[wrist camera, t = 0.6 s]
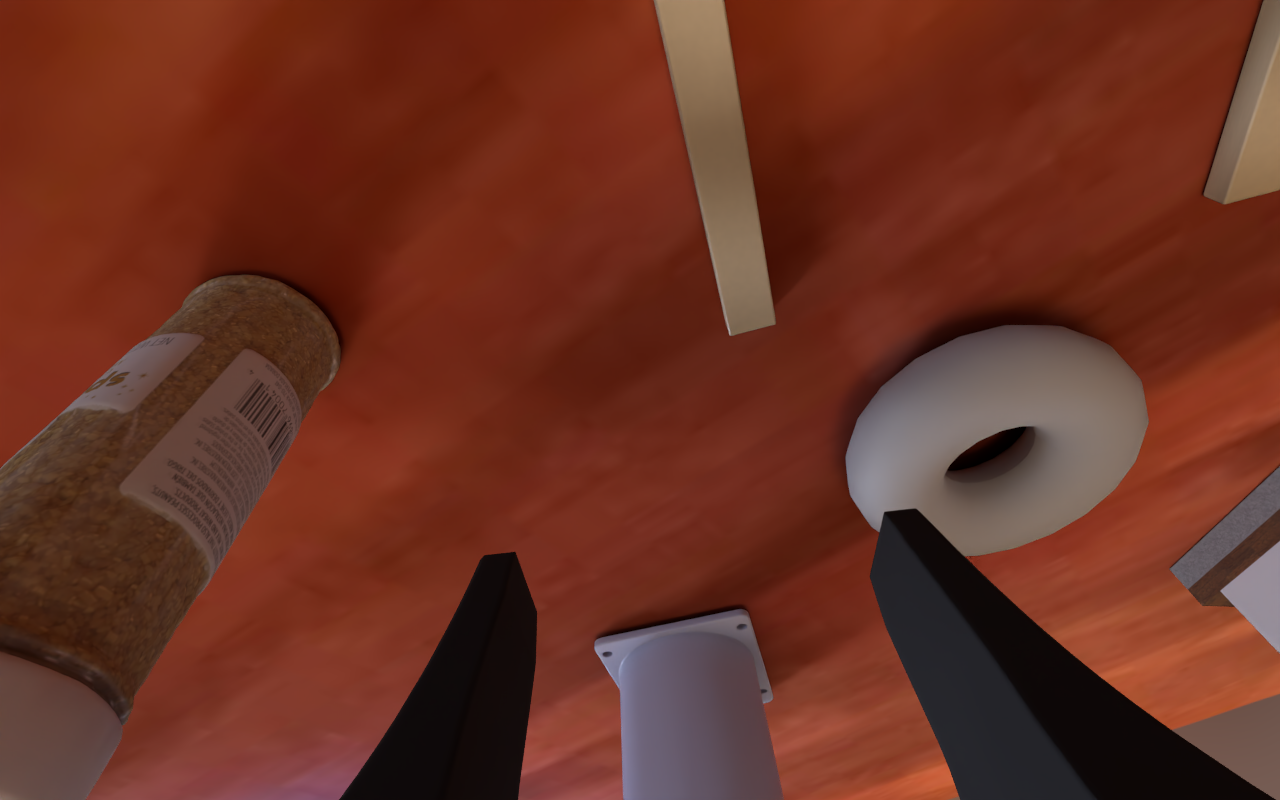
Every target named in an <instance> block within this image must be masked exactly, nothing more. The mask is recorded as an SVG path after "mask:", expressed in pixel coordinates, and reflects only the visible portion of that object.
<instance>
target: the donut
mask: <svg viewBox="0 0 1280 800" xmlns="http://www.w3.org/2000/svg"><path fill="white" fill-rule="evenodd" d="M1148 423H1149V420H1148V414H1147V408H1146V402H1145V396H1144V391H1143V386H1142V381H1141V379H1140V378H1139V377H1138V376H1137V374H1136V373H1135V372H1134V371H1133V369H1132V368H1131V367H1130V366H1129V365H1128V364H1127V363H1126V362H1125V361H1124V360H1123V359H1122V358H1121V357H1120V355H1119V354H1118V353H1117V352H1116V351H1115V350H1114V349H1113V348H1112V347H1111V346H1110V345H1108V344H1106V343H1104V342H1102V341H1100V340H1098V339H1096V338H1093V337H1090V336H1087V335H1085V334H1082V333H1079V332H1076V331H1073V330H1071V329H1068V328H1065V327H1062V326H1052V325H1003V326H999V327H995V328H992V329H988V330H984V331H980V332H976V333H972V334H968V335H964V336H960V337H958V338H956V339H954V340H952V341H950V342H948V343H946V344H944V345H942V346H940V347H938V348H936V349H934V350H932V351H930V352H928V353H926V354H924V355H922V356H920V357H918V358H916V359H915V360H913V361H912V362H911V363H910V364H909V365H907V366H906V367H905V368H904V369H902V370H901V371H900V372H899V373H898V374H896V375H895V376H894V377H893V378H891V379H890V380H889V381H888V382H887V383H885V384H884V385H883V386H882V387H881V388H880V389H879V390H878V392H877V393H876V394H875V396H874V397H873V398H872V400H871V401H870V402H869V404H868V405H867V407H866V408H865V409H864V411H863V412H862V413H861V415H860V416H859V417H858V419H857V422H856V425H855V428H854V431H853V434H852V437H851V440H850V443H849V446H848V449H847V453H846V457H845V459H846V469H847V479H848V487H849V492H850V496H851V498H852V499H853V501H854V502H855V504H856V505H857V507H858V508H859V510H860V511H861V513H862V514H863V516H864V517H865V519H866V520H867V521H868V523H869V524H870V526H871V527H872V528H874V529H875V530H877V531H878V532H880V528H881V523H882V519H883V514H884V512H886V511H895V510H904V509H913V508H916V509H917V510H919V511H920V512H921V513H922V514H923V515H924V516H925V517H926V518H927V519H928V520H929V521H930V522H931V523H932V524H933V525H934V526H935V527H936V528H937V529H938V530H939V531H940V532H941V533H942V534H943V535H944V536H945V537H946V539H947V540H948V541H949V542H950V543H951V544H952V545H953V546H954V547H955V548H956V549H957V550H958V551H959V552H960V553H961V554H962V555H964V556H980V555H985V554H989V553H994V552H999V551H1004V550H1009V549H1013V548H1017V547H1019V546H1022V545H1024V544H1027V543H1030V542H1032V541H1035V540H1037V539H1040V538H1043V537H1045V536H1048V535H1050V534H1053V533H1054V532H1056V531H1058V530H1059V529H1061V528H1063V527H1065V526H1066V525H1068V524H1070V523H1071V522H1073V521H1075V520H1077V519H1078V518H1080V517H1082V516H1083V515H1085V514H1087V513H1088V512H1089V511H1090V510H1091V509H1092V508H1094V507H1095V506H1096V505H1097V504H1098V503H1099V502H1101V501H1102V500H1103V499H1104V498H1105V497H1107V496H1108V495H1109V494H1110V493H1111V492H1112V491H1114V490H1115V488H1116V487H1117V486H1118V484H1119V483H1120V482H1121V480H1122V479H1123V478H1124V476H1125V475H1126V474H1127V472H1128V471H1129V470H1130V468H1131V467H1132V466H1133V464H1134V463H1135V462H1136V459H1137V456H1138V454H1139V451H1140V448H1141V444H1142V441H1143V438H1144V435H1145V432H1146V429H1147V426H1148ZM1020 426H1027V428H1026V429H1025V431H1024V433H1023V434H1022V435H1021V436H1020V437H1019V438H1018V439H1017V440H1016V441H1015V443H1014V444H1013V445H1012V446H1011V447H1009V448H1008V449H1006V450H1005V451H1004V452H1002V453H1001V454H999V455H998V456H996V457H995V458H993V459H991V460H988V461H986V462H984V463H981V464H979V465H977V466H974V467H970V468H965V469H961V470H957V471H947V469H948V467H949V466H950V465H951V463H952V462H953V461H954V460H955V459H956V458H957V457H958V456H959V455H960V454H961V453H963V452H964V451H966V450H967V449H968V448H970V447H971V446H973V445H974V444H976V443H977V442H978V441H980V440H983V439H985V438H987V437H989V436H992V435H994V434H996V433H998V432H1000V431H1003V430H1008V429H1012V428H1016V427H1020Z"/></svg>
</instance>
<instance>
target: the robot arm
mask: <svg viewBox="0 0 1280 800" xmlns="http://www.w3.org/2000/svg"><path fill="white" fill-rule="evenodd" d="M870 579H871V582H872V585H873V588H874V592H875V595H876V598H877V601H878V604H879V607H880V610H881V613H882V616H883V619H884V622H885V625H886V628H887V630H888V633H889V635H890V637H891V639H892V642H893V644H894V646H895V648H896V651H897V653H898V655H899V657H900V659H901V662H902V664H903V666H904V668H905V670H906V673H907V675H908V677H909V679H910V681H911V683H912V686H913V688H914V690H915V692H916V694H917V697H918V699H919V701H920V703H921V705H922V707H923V710H924V712H925V714H926V716H927V718H928V721H929V723H930V725H931V727H932V729H933V731H934V734H935V736H936V738H937V740H938V742H939V745H940V747H941V750H942V752H943V754H944V757H945V759H946V762H947V764H948V767H949V769H950V772H951V775H952V777H953V780H954V783H955V786H956V789H957V791H958V794H959V797H960V800H1276V799H1274V798H1272V797H1271V796H1269V795H1268V794H1266V793H1264V792H1263V791H1261V790H1260V789H1258V788H1256V787H1255V786H1253V785H1252V784H1250V783H1249V782H1247V781H1246V780H1244V779H1243V778H1241V777H1240V776H1238V775H1237V774H1235V773H1234V772H1232V771H1231V770H1229V769H1228V768H1226V767H1225V766H1223V765H1222V764H1220V763H1219V762H1218V761H1216V760H1215V759H1213V758H1212V757H1210V756H1209V755H1207V754H1206V753H1204V752H1203V751H1201V750H1200V749H1198V748H1197V747H1195V746H1194V745H1192V744H1191V743H1189V742H1188V741H1186V740H1185V739H1183V738H1182V737H1180V736H1179V735H1178V734H1176V733H1175V732H1173V731H1172V730H1170V729H1169V728H1168V727H1166V726H1165V725H1163V724H1162V723H1161V722H1159V721H1158V720H1157V719H1155V718H1154V717H1152V716H1151V715H1150V714H1148V713H1147V712H1146V711H1144V710H1143V709H1142V708H1140V707H1139V706H1137V705H1136V704H1135V703H1133V702H1132V701H1131V700H1129V699H1128V698H1127V697H1125V696H1124V695H1123V694H1122V693H1120V692H1119V691H1118V690H1116V689H1115V688H1114V687H1112V686H1111V685H1110V684H1108V683H1107V682H1106V681H1105V680H1103V679H1102V678H1101V677H1099V676H1098V675H1097V674H1096V673H1094V672H1093V671H1092V670H1091V669H1089V668H1088V667H1087V666H1086V665H1084V664H1083V663H1082V662H1081V661H1080V660H1078V659H1077V658H1076V657H1075V656H1073V655H1072V654H1071V653H1070V652H1069V651H1067V650H1066V649H1065V648H1064V647H1063V646H1062V645H1060V644H1059V643H1058V642H1057V641H1056V640H1055V639H1053V638H1052V637H1051V636H1050V635H1049V634H1048V633H1046V632H1045V631H1044V630H1043V629H1042V628H1041V627H1039V626H1038V625H1037V624H1036V623H1035V622H1034V621H1033V620H1032V619H1030V618H1029V617H1028V616H1027V615H1026V614H1025V613H1024V612H1023V611H1021V610H1020V609H1019V608H1018V607H1017V606H1016V605H1015V604H1014V603H1013V602H1012V601H1011V600H1010V599H1009V598H1007V597H1006V596H1005V595H1004V594H1003V593H1002V592H1001V591H1000V590H999V589H998V588H997V587H996V586H995V585H993V584H992V583H991V582H990V581H989V580H988V579H987V578H986V577H985V576H984V575H983V574H982V573H981V572H980V571H979V570H978V569H977V568H976V567H975V566H974V565H973V564H972V563H971V562H970V561H969V560H968V559H967V558H966V557H965V556H964V555H962V554H961V553H960V552H959V551H958V550H957V549H956V548H955V547H954V546H953V545H952V544H951V543H950V542H949V541H948V540H947V539H946V537H945V536H944V535H943V534H942V533H941V532H940V531H939V530H938V529H937V528H936V527H935V526H934V525H933V524H932V523H931V522H930V521H929V520H928V519H927V518H926V517H925V516H924V515H923V514H922V513H921V512H920V511H919V510H917V509H916V508H913V509H904V510H895V511H886V512H884V514H883V519H882V523H881V528H880V532H879V537H878V541H877V546H876V550H875V555H874V559H873V564H872V568H871V573H870ZM536 636H537V611H536V608H535V605H534V602H533V600H532V597H531V594H530V591H529V589H528V586H527V583H526V580H525V577H524V575H523V572H522V569H521V566H520V564H519V561H518V558H517V555H516V552H510V553H501V554H492V555H484V557H483V558H482V559H481V560H480V562H479V564H478V566H477V568H476V571H475V573H474V575H473V577H472V579H471V581H470V584H469V586H468V588H467V590H466V592H465V594H464V596H463V598H462V600H461V602H460V604H459V606H458V608H457V610H456V612H455V614H454V616H453V618H452V620H451V622H450V624H449V626H448V628H447V630H446V631H445V633H444V635H443V637H442V639H441V641H440V643H439V644H438V646H437V648H436V650H435V652H434V654H433V655H432V657H431V659H430V661H429V663H428V665H427V666H426V668H425V670H424V672H423V673H422V675H421V677H420V678H419V680H418V682H417V683H416V685H415V687H414V688H413V690H412V692H411V693H410V695H409V697H408V698H407V700H406V702H405V703H404V705H403V707H402V708H401V710H400V712H399V713H398V715H397V716H396V718H395V720H394V721H393V723H392V724H391V726H390V727H389V729H388V730H387V732H386V734H385V735H384V737H383V738H382V740H381V741H380V743H379V744H378V746H377V747H376V749H375V750H374V752H373V753H372V754H371V756H370V757H369V759H368V760H367V762H366V763H365V765H364V766H363V767H362V769H361V770H360V772H359V773H358V775H357V776H356V777H355V779H354V780H353V782H352V783H351V784H350V786H349V787H348V788H347V790H346V791H345V792H344V794H343V795H342V797H341V798H340V799H339V800H518V794H519V784H520V777H521V770H522V762H523V755H524V748H525V740H526V733H527V726H528V718H529V711H530V704H531V696H532V688H533V681H534V673H535V665H536ZM595 651H596V653H597V654H598V656H599V657H600V659H601V661H602V662H603V664H604V665H605V667H606V669H607V670H608V672H609V673H610V675H611V676H612V678H613V680H614V681H615V683H616V684H617V686H618V687H619V689H620V701H621V735H622V770H623V800H784V797H783V793H782V788H781V783H780V779H779V774H778V770H777V765H776V760H775V756H774V751H773V746H772V742H771V737H770V732H769V728H768V723H767V719H766V714H765V709H764V705H763V703H767V702H770V701H772V699H773V693H772V689H771V686H770V683H769V679H768V676H767V673H766V669H765V666H764V663H763V659H762V656H761V653H760V649H759V646H758V643H757V639H756V636H755V633H754V629H753V626H752V623H751V619H750V616H749V613H748V612H747V611H746V610H744V609H736V610H732V611H727V612H722V613H717V614H712V615H708V616H703V617H698V618H693V619H688V620H683V621H679V622H674V623H669V624H664V625H659V626H654V627H650V628H645V629H640V630H635V631H630V632H626V633H621V634H616V635H611V636H606V637H601V638H599V639H597V640H596V641H595Z"/></svg>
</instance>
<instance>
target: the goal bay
mask: <svg viewBox="0 0 1280 800" xmlns="http://www.w3.org/2000/svg"><path fill="white" fill-rule="evenodd" d="M654 3H655V8H656V12H657V17H658V21H659V26H660V30H661V35H662V39H663V44H664V48H665V53H666V57H667V62H668V66H669V71H670V75H671V80H672V84H673V89H674V93H675V98H676V102H677V107H678V111H679V116H680V120H681V125H682V129H683V134H684V138H685V143H686V147H687V152H688V156H689V161H690V165H691V170H692V174H693V178H694V183H695V187H696V192H697V196H698V201H699V205H700V210H701V214H702V219H703V223H704V228H705V232H706V237H707V241H708V246H709V250H710V255H711V259H712V264H713V268H714V273H715V277H716V282H717V286H718V291H719V295H720V300H721V304H722V309H723V313H724V318H725V322H726V326H727V329H728V332H729V335H730V336H733V335H737V334H740V333H744V332H748V331H752V330H755V329H759V328H763V327H767V326H770V325H774V324H776V318H775V312H774V306H773V300H772V294H771V287H770V281H769V275H768V269H767V263H766V256H765V250H764V244H763V238H762V232H761V225H760V219H759V213H758V207H757V201H756V194H755V188H754V182H753V176H752V170H751V163H750V157H749V151H748V145H747V139H746V132H745V126H744V120H743V114H742V108H741V101H740V95H739V89H738V83H737V76H736V70H735V64H734V58H733V52H732V45H731V39H730V33H729V27H728V21H727V14H726V8H725V2H724V0H654ZM1279 189H1280V0H1263V3H1262V7H1261V10H1260V13H1259V16H1258V20H1257V23H1256V26H1255V29H1254V33H1253V36H1252V39H1251V42H1250V45H1249V49H1248V52H1247V55H1246V58H1245V62H1244V65H1243V68H1242V71H1241V75H1240V78H1239V81H1238V84H1237V87H1236V91H1235V94H1234V97H1233V100H1232V104H1231V107H1230V110H1229V113H1228V117H1227V120H1226V123H1225V126H1224V130H1223V133H1222V136H1221V139H1220V142H1219V146H1218V149H1217V152H1216V155H1215V159H1214V162H1213V165H1212V168H1211V172H1210V175H1209V178H1208V181H1207V184H1206V188H1205V191H1204V196H1205V197H1207V198H1210V199H1212V200H1214V201H1217V202H1219V203H1221V204H1229V203H1232V202H1236V201H1240V200H1244V199H1248V198H1251V197H1255V196H1259V195H1263V194H1266V193H1270V192H1274V191H1278V190H1279Z"/></svg>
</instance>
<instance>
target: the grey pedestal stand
mask: <svg viewBox="0 0 1280 800" xmlns="http://www.w3.org/2000/svg"><path fill="white" fill-rule="evenodd" d="M1170 570H1171V572H1172V573H1173V574H1174V575H1175V576H1176V577H1177V578H1178V579H1179V580H1180V581H1181V583H1182V584H1183V585H1184V586H1185V587H1186V588H1187V589H1188V590H1189V591H1190V592H1191V594H1192V595H1193V596H1194V597H1195V598H1196V599H1197V600H1198V601H1199V602H1200V604H1201V605H1202V606H1229V607H1236V608H1237V609H1238V610H1239V611H1240V612H1241V613H1242V614H1243V616H1244V617H1245V618H1246V619H1247V620H1248V621H1249V622H1250V623H1251V624H1252V625H1253V626H1254V627H1255V628H1256V629H1257V630H1258V631H1259V632H1260V633H1261V634H1262V635H1263V636H1264V638H1265V639H1266V640H1267V641H1268V642H1269V643H1270V644H1271V645H1272V646H1273V647H1274V648H1275V649H1276V650H1277V651H1278V652H1279V653H1280V467H1279V468H1278V469H1277V470H1275V471H1274V472H1273V473H1272V474H1271V475H1270V476H1269V477H1268V478H1267V479H1266V480H1265V481H1264V482H1263V483H1261V484H1260V485H1259V486H1258V487H1257V488H1256V489H1255V490H1254V491H1253V492H1252V493H1251V494H1250V495H1249V496H1248V497H1246V498H1245V499H1244V500H1243V501H1242V502H1241V503H1240V504H1239V505H1238V506H1237V507H1236V508H1235V509H1234V510H1233V511H1231V512H1230V513H1229V514H1228V515H1227V516H1226V517H1225V518H1224V519H1223V520H1222V521H1221V522H1220V523H1219V524H1218V525H1216V526H1215V527H1214V528H1213V529H1212V530H1211V531H1210V532H1209V533H1208V534H1207V535H1206V536H1205V537H1204V538H1203V539H1201V540H1200V541H1199V542H1198V543H1197V544H1196V545H1195V546H1194V547H1193V548H1192V549H1191V550H1190V551H1189V552H1188V553H1186V554H1185V555H1184V556H1183V557H1182V558H1181V559H1180V560H1179V561H1178V562H1177V563H1176V564H1175V565H1174V566H1173V567H1171V568H1170Z"/></svg>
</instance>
